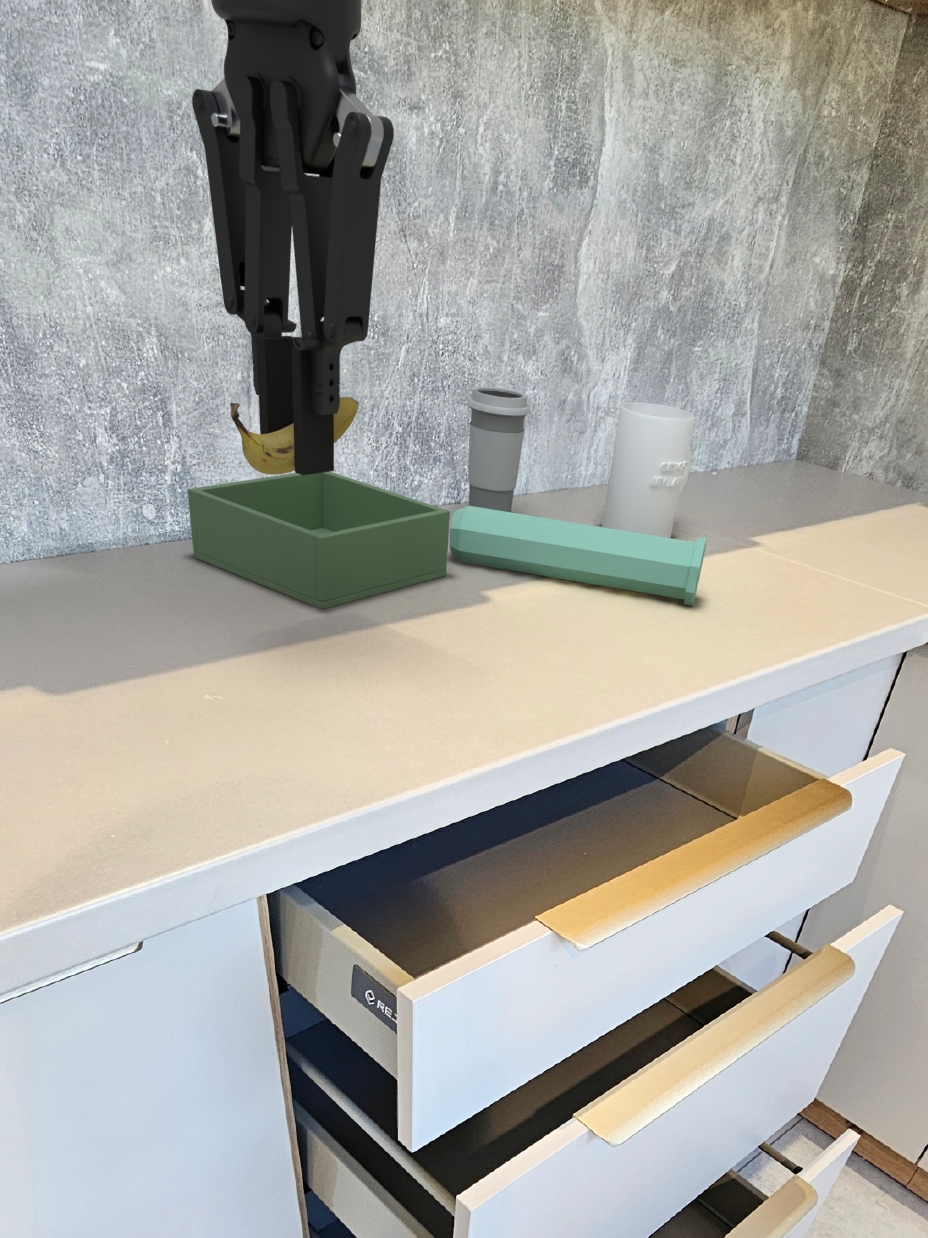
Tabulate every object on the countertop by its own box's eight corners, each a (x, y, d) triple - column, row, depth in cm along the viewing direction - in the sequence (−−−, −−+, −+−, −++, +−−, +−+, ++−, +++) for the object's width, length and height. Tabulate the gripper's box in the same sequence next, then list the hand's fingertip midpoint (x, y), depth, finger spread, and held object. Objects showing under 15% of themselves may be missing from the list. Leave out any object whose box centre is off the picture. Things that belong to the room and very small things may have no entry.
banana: (342, 460, 69) (342, 390, 66) (366, 469, 68) (367, 398, 65) (222, 475, 63) (217, 398, 60) (247, 484, 62) (243, 407, 59)
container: (447, 491, 96) (707, 532, 93) (461, 505, 101) (706, 544, 98) (438, 559, 98) (692, 602, 95) (452, 569, 103) (692, 610, 100)
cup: (452, 509, 114) (460, 383, 106) (508, 512, 116) (520, 387, 108) (467, 528, 109) (477, 396, 101) (526, 530, 111) (540, 401, 103)
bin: (193, 557, 92) (187, 489, 89) (322, 531, 103) (321, 468, 99) (322, 609, 86) (321, 538, 82) (446, 576, 96) (450, 511, 92)
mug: (703, 535, 117) (730, 414, 109) (645, 549, 110) (669, 421, 102) (646, 517, 121) (668, 399, 113) (587, 529, 114) (605, 404, 106)
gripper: (120, -108, 50) (172, 442, 66) (342, -101, 43) (341, 504, 59) (238, -73, 54) (260, 433, 70) (454, -63, 48) (425, 489, 64)
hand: (297, 465), depth 65 cm, fingers closed on banana, 2 cm apart
